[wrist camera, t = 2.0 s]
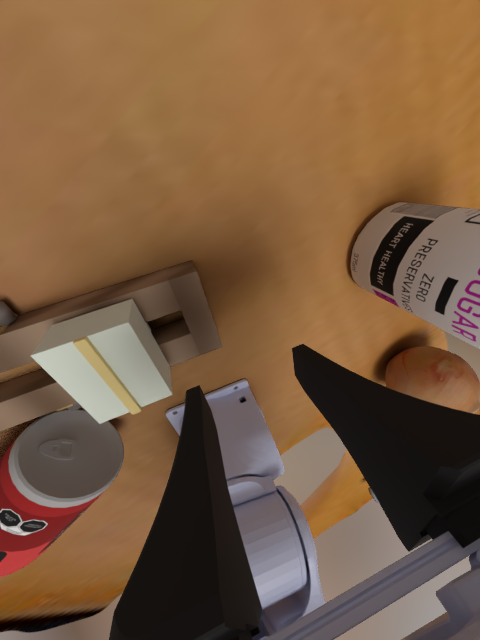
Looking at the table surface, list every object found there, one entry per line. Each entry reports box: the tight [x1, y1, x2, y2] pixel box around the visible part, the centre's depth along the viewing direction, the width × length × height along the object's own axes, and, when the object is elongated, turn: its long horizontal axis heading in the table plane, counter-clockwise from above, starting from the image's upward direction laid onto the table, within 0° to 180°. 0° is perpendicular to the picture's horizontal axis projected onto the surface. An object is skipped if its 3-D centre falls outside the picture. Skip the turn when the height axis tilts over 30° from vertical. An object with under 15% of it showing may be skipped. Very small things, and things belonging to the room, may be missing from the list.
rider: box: [31, 299, 173, 424], centre depth 16 cm, size 5×6×6 cm
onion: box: [385, 346, 480, 414], centre depth 30 cm, size 10×10×10 cm
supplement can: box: [350, 202, 480, 349], centre depth 17 cm, size 8×8×15 cm
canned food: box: [0, 409, 124, 577], centre depth 19 cm, size 8×8×11 cm
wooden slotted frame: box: [0, 261, 222, 431], centre depth 17 cm, size 26×10×2 cm, turn 102°
